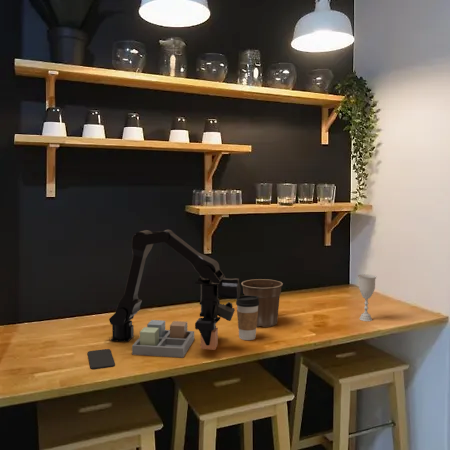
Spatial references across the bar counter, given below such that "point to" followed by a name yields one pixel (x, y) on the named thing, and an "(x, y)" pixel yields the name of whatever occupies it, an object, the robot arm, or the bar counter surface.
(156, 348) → the grid tray
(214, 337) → the terracotta block
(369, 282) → the chalice
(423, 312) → the bar counter surface
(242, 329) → the coffee cup
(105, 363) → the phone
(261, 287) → the plant pot
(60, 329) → the bar counter surface
